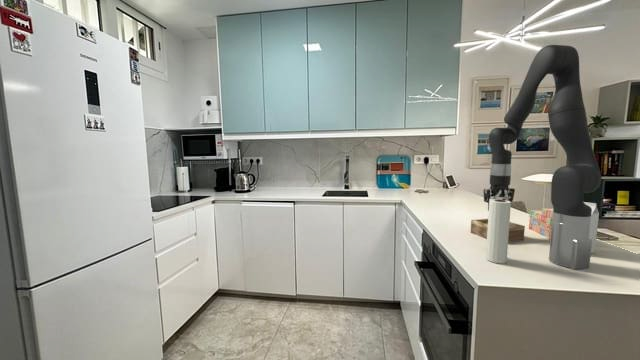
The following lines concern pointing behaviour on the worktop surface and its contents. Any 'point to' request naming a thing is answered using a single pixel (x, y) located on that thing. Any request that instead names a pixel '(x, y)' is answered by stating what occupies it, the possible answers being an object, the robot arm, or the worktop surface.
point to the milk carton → (593, 224)
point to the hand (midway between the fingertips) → (497, 211)
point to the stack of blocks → (541, 221)
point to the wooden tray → (481, 228)
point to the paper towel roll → (498, 230)
